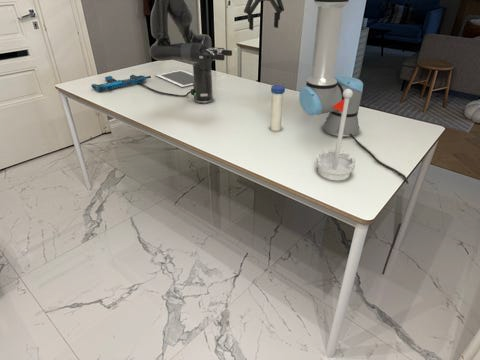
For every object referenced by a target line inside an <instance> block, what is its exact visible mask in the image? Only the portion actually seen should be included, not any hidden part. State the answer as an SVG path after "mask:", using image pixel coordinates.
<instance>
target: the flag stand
mask: <svg viewBox="0 0 480 360" xmlns="http://www.w3.org/2000/svg"><path fill="white" fill-rule="evenodd" d="M352 95H353V92H352V90H350V89H346V90H344V92H343V97H344V99H343V100H342V101H340V102H339V103H337V104H336V105H334V106H333V107H332V108H334V109H337V110H339V111H341V112H342V115H341V121H340V127H339V133H338V137H336V138H337V139H336V145H335V149H329V150H328V152H325V151H320V152H319V153H318V156H317V157H316V160H315V164H316V167H317V169H318V170H317V172H318V174H319V175H320V176H321V177H323V178H324V179H327V180H330V181H344V180H346V179H349V178H350V177H351V176H350V175H351V173H352V172H353V171H354V170H355V167H356V159H355V157H354V156H353V157H350V153H348V152H345V151H342V152H341V149H342V148H341V147H342V142H343V138H342V137H343V131H344V126H345V120H346V115H347V109H348V104H349V98H351V97H352ZM340 152H341V153H340Z"/></svg>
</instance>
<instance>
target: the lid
mask: <svg viewBox="0 0 480 360" xmlns="http://www.w3.org/2000/svg"><path fill="white" fill-rule="evenodd" d="M270 92H271V94H272V93H274V94H282V93H283V94H285V92H286V87H285V85H283V84H273V85H271V88H270Z"/></svg>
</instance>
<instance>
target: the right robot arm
mask: <svg viewBox="0 0 480 360" xmlns="http://www.w3.org/2000/svg"><path fill="white" fill-rule="evenodd" d="M265 1H267V2H268V1H269V2H270V4H271V6H272V7H273V9H274V10H275V11H276V12H274V15H273V16H274V18H273V28H275V29H278V28H279V21H280V20H281V14H282V12H284V11H285V8H284V3H283V1H282V0H247V2H246V4H245V6H244V8H243V9H244V10H243V13H245V14H247V22H248V29H249V30H250V31H254V14H253V13H254V12H255V10H256V9H257V7H258V6H259V4H260V3H261V2H265ZM313 2H314V3H315V5H316V7H317V13H316V23H315V24H316V25H315V32H314V42H313V43H314V45H313V52H312V53H313V54H312V64H311V73H310V74H311V75H310V76H309V77H307V78H306V84H305V86H303V87H302V88H301V89H300V90H299V94H298V99H299V104H300V106H301V108H302V110H303V112H304V113H305V114H307V115H308V116H321V115H324V114H328V115H327V117H326V118H325V121H324V123H323V126H322V130H323V132H324V133H325V134H326V135H329V136H332V137H335V138H338V133H339V127H340V121H341V115H342V112H341V111H339V110H337V109H334V108H332V107H333V106H334V105H336V104H337V103H339V102H340V101H342V100H343V99H344V97H343V92H344V90H346V89H350V90H352V92H353V95H352V97H351V98H349V104H348V109H347V115H346V120H345V126H344V131H343V137H342V139H349V138H352V139H353V140H354V142H355V143H356V144H357V145H358V146H359V147H361V148H362V149H363V150H364V151H366V153H367V154H369V155H370V156H371V157H372V159H374V161H375V162H377V163H378V164H379V165H381V166H383V167H385V168H386V169H389V170H391V171H393V172H394V173H396V174H397V175H398V176H401V177H402V178H403V179H404V182H405V184H407V185H409V180H408V178H407V176H406V175H405V174H403V173H401V172H400V171H399V170H397V169H396V168H393V167H391V166H389V165H387V164H385V163H383V162H382V161H381V160H379V159H378V158H377V157H376V156H375V155H374V154H373V153H372V152H371V151H370V150H369V149H368V148H366V147H365V146H364V145H363V144H362V143H360V141H358V140H357V138H356V136H357V135H359V132H360V125H359V118H358V117H359V116H358V114H359V111H360V110H359V109H360V105H361V101H362V96H363V92H364V91H363V89H364V82H363V81H362V80H361V79H359V78H356V77H353V76H346V75H336V76H335V70H336V63H337V57H338V56H337V55H338V48H339V41H340V34H341V28H342V19H343V12H344V7H345V6H346V5H347V4H348V3H349V2H350V0H313ZM401 226H402V222H400V223H398V224H397V228H396V231H395V233H394V237H393V240H392V243H391V246H390V248H389V251H388V255H387V257H386V260H385V263H384V266H383V269H382V272H381V275H383V276H384V275H385V273H386V270H387V266H388V263H389V260H390V257H391V254H392V252H393V249H394V246H395V243H396V240H397V237H398V235H399V232H400V229H401Z"/></svg>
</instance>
